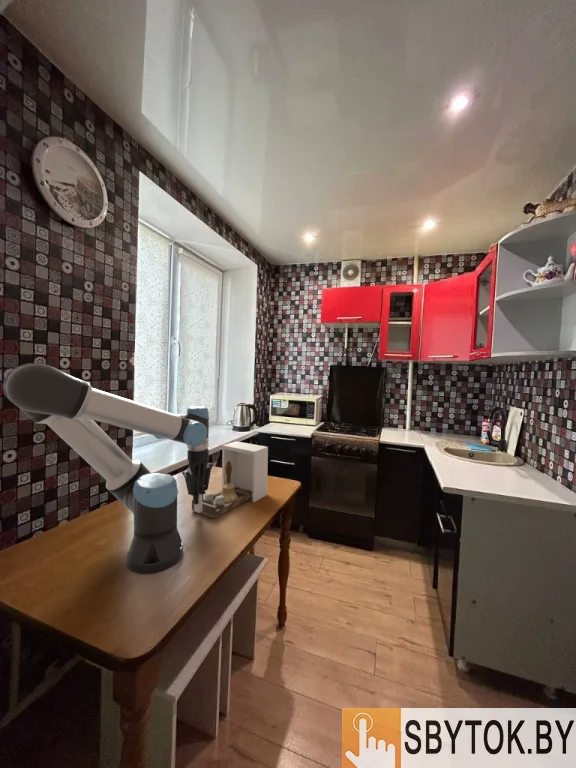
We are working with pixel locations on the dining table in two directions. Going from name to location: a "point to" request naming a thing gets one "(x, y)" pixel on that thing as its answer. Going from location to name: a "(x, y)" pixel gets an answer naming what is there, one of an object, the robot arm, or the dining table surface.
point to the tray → (223, 509)
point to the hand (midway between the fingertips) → (198, 511)
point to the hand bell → (228, 486)
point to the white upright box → (246, 467)
